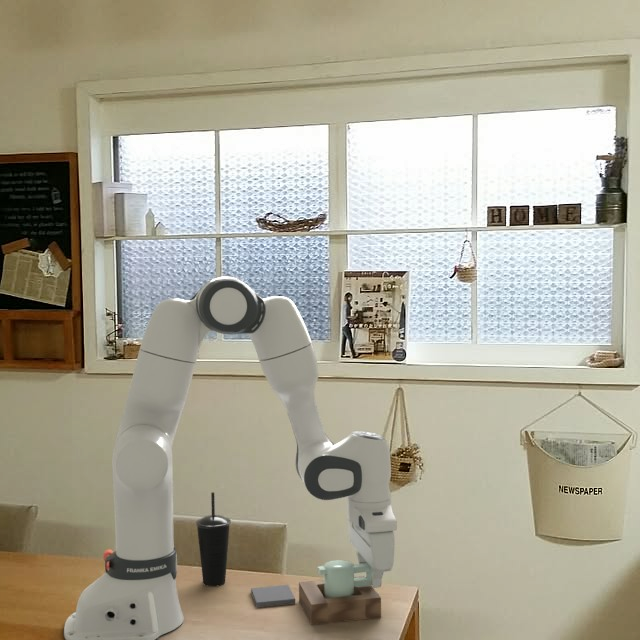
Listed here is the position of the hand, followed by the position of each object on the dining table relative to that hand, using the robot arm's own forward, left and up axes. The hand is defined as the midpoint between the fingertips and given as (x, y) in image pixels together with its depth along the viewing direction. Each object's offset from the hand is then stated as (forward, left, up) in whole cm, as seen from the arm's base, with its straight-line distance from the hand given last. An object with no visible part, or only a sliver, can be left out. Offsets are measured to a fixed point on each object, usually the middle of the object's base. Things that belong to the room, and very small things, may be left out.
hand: (369, 578), depth 168 cm
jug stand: (-6, 0, -6) cm, 9 cm away
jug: (-5, 0, -6) cm, 8 cm away
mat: (-18, +9, -6) cm, 21 cm away
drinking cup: (-29, +21, -6) cm, 37 cm away
